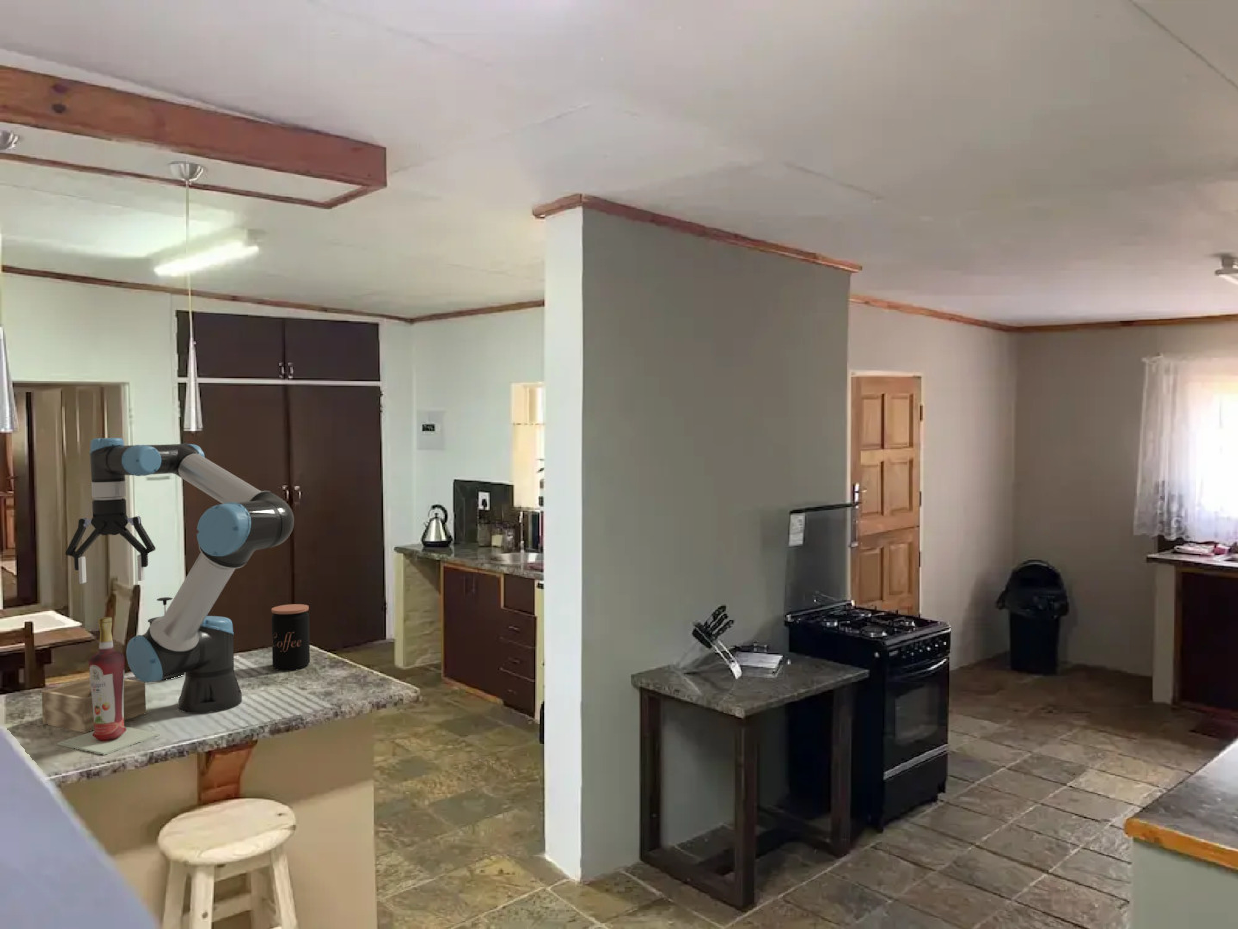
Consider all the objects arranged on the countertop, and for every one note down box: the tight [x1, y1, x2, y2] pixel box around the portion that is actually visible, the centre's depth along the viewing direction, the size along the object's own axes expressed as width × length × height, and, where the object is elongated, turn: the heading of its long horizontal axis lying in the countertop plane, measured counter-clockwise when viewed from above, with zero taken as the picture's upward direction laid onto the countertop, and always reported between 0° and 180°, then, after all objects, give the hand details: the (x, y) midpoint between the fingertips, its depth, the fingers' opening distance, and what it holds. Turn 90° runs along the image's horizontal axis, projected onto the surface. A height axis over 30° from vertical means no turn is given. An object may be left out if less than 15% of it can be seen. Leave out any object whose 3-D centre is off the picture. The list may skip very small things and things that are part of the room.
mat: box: [57, 725, 161, 756], centre depth 211 cm, size 16×14×1 cm
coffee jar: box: [271, 603, 311, 671], centre depth 275 cm, size 11×11×18 cm
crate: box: [41, 678, 147, 734], centre depth 227 cm, size 16×16×8 cm
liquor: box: [87, 616, 126, 741], centre depth 211 cm, size 7×7×28 cm
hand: (112, 581), depth 232 cm, fingers open, 13 cm apart
